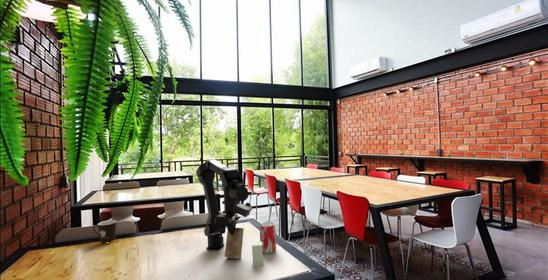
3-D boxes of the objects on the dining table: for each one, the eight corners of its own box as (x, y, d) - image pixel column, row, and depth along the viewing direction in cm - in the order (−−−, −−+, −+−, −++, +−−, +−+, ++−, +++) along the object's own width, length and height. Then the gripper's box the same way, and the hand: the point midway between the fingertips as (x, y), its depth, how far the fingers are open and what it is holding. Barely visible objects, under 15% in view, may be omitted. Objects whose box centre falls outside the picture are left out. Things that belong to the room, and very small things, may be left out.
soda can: (274, 254, 122) (273, 226, 122) (258, 254, 124) (257, 226, 124) (277, 248, 129) (276, 222, 129) (262, 248, 131) (261, 221, 131)
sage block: (252, 266, 112) (252, 245, 112) (253, 261, 116) (252, 242, 116) (263, 265, 112) (262, 245, 112) (262, 261, 116) (262, 241, 116)
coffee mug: (120, 240, 150) (120, 221, 151) (103, 245, 143) (103, 225, 143) (109, 237, 157) (108, 219, 157) (92, 242, 149) (91, 223, 150)
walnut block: (224, 257, 119) (227, 227, 123) (228, 257, 122) (231, 227, 126) (237, 258, 117) (240, 227, 121) (241, 258, 120) (243, 228, 124)
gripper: (239, 203, 109) (241, 244, 109) (256, 194, 127) (257, 229, 127) (213, 202, 112) (214, 242, 112) (233, 193, 130) (234, 227, 130)
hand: (232, 234), depth 120 cm, fingers closed
